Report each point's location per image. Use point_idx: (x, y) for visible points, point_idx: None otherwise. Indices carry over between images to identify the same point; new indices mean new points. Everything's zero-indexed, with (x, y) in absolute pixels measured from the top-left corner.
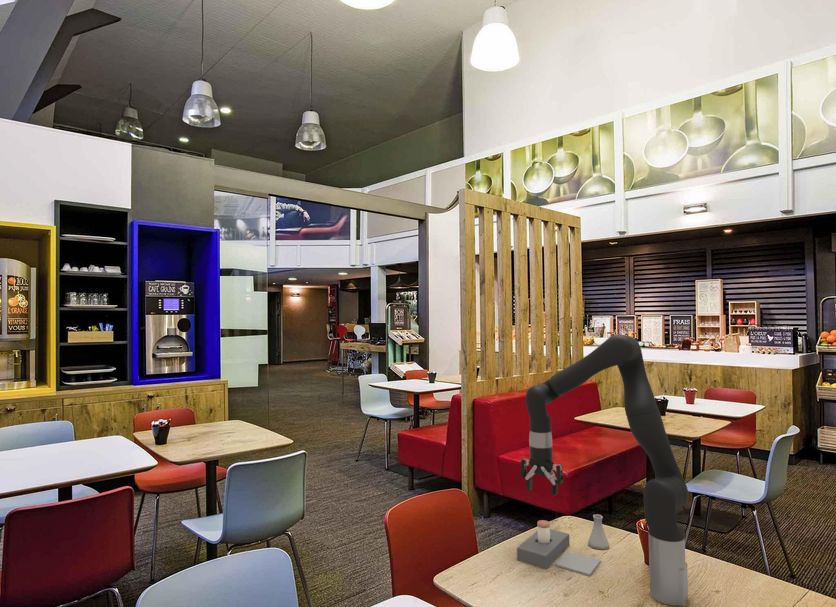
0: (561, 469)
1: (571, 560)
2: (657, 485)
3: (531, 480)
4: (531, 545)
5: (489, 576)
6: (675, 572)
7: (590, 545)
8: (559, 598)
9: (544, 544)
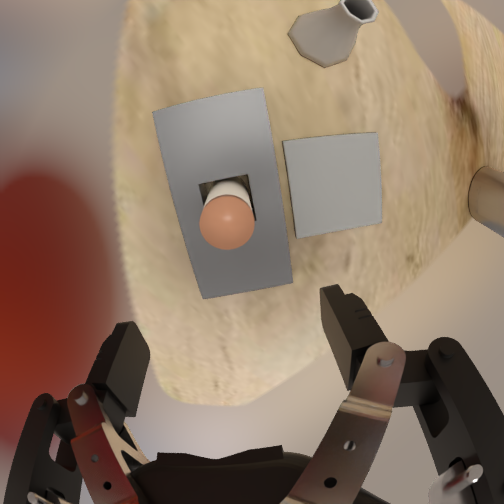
0: (499, 457)
1: (320, 188)
2: None
3: (115, 383)
4: (222, 260)
5: (216, 359)
6: None
7: (312, 59)
8: None
9: None
